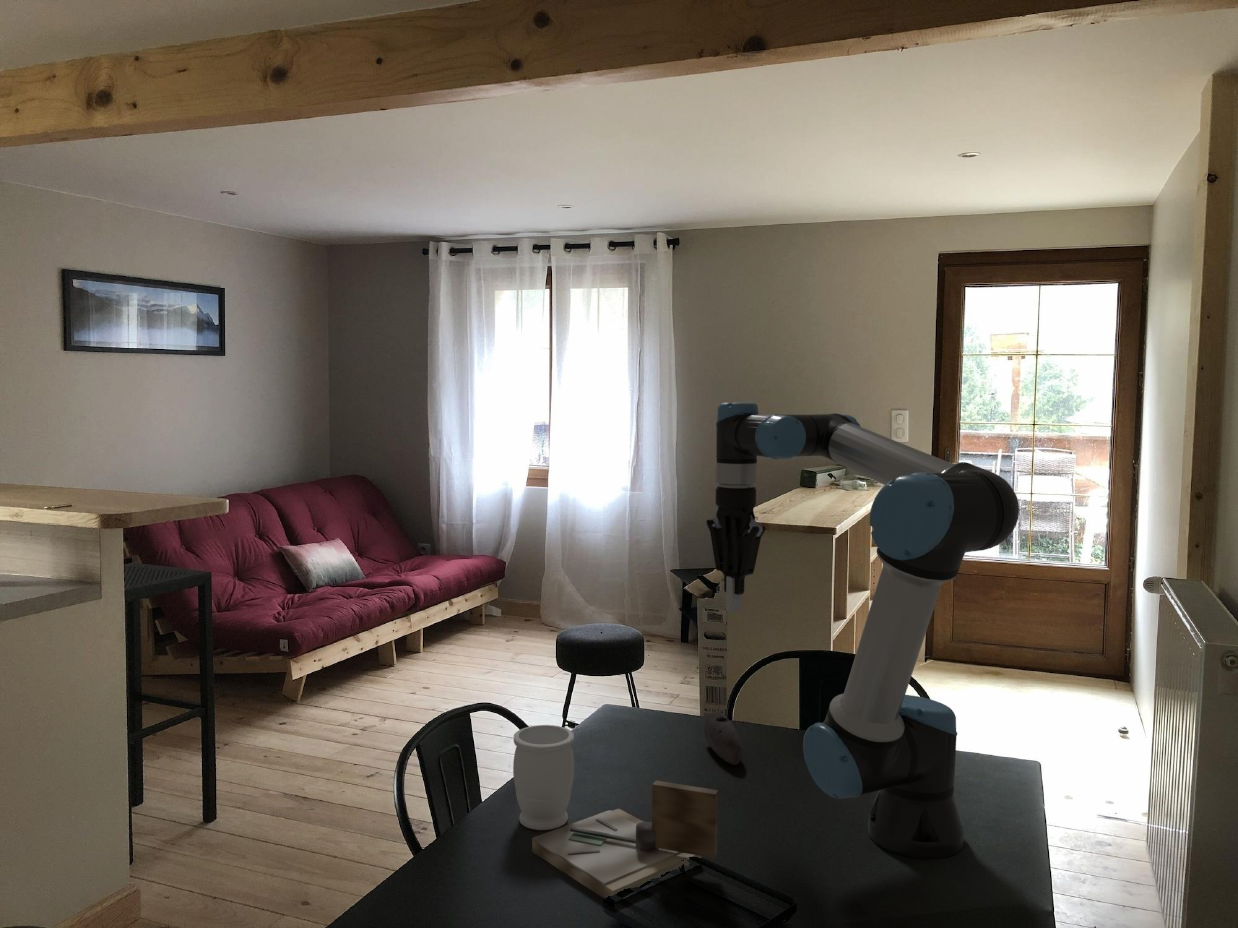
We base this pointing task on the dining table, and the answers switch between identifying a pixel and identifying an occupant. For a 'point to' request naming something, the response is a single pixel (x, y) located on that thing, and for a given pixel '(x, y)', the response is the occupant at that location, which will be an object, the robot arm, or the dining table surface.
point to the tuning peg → (676, 821)
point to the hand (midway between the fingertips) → (733, 610)
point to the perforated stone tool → (723, 738)
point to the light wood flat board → (606, 854)
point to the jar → (543, 775)
